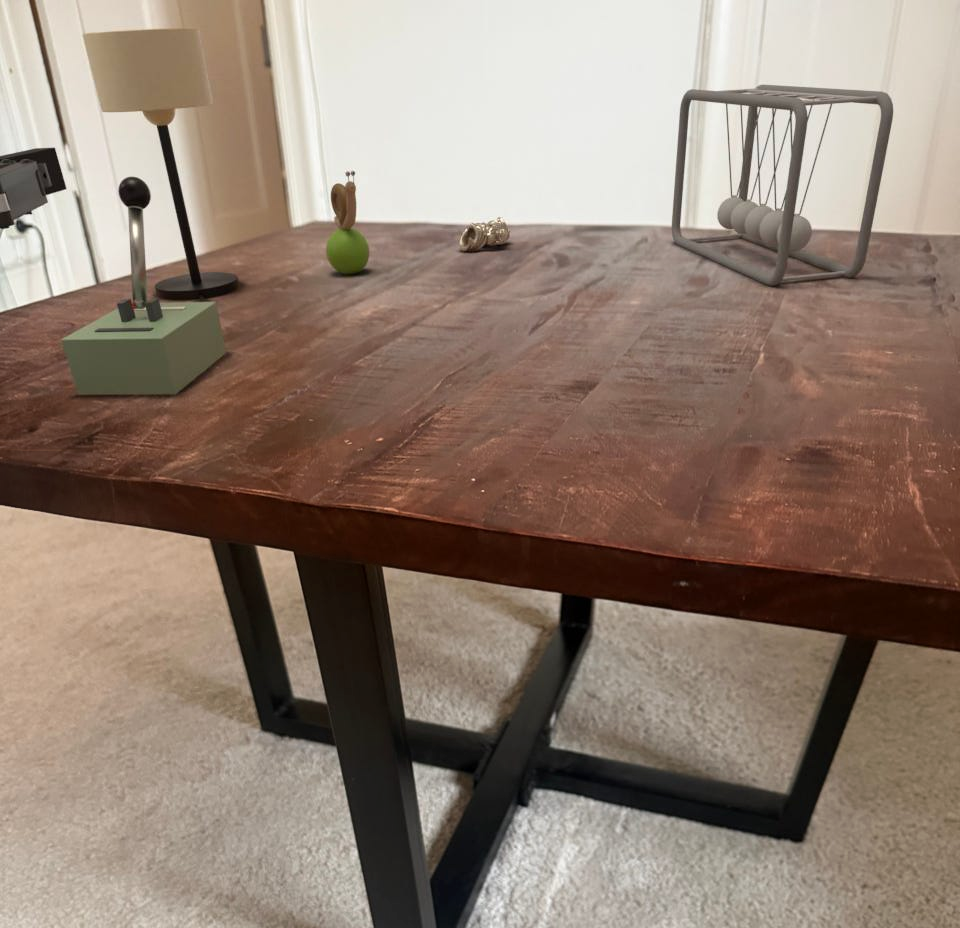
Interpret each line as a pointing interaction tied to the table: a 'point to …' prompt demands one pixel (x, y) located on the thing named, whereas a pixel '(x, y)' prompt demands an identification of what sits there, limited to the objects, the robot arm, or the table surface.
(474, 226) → the ornament
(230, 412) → the table surface
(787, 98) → the newton's cradle
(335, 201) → the snail figurine
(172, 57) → the desk lamp
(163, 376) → the switch box
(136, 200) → the toggle lever
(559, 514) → the table surface
